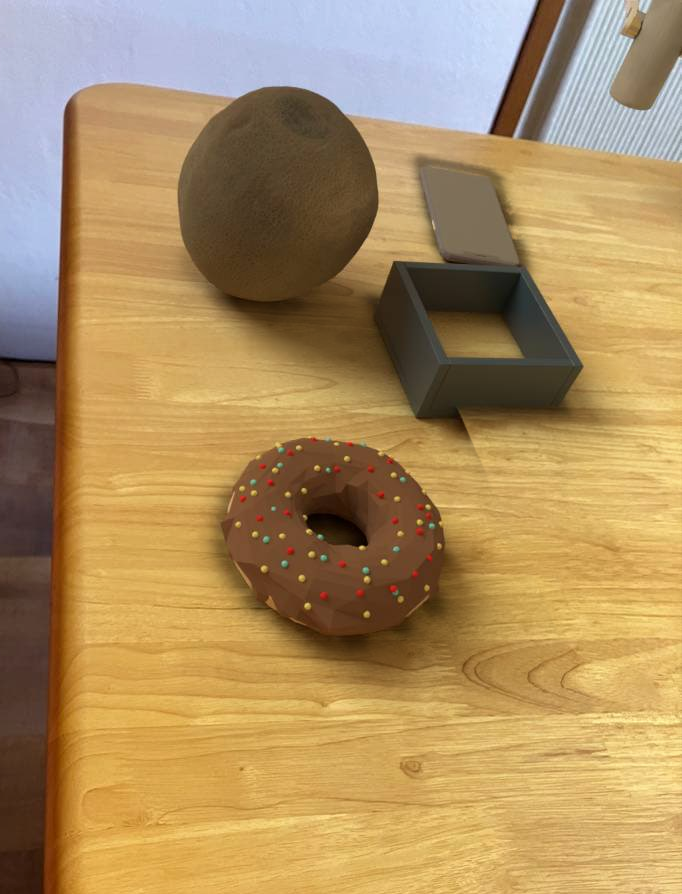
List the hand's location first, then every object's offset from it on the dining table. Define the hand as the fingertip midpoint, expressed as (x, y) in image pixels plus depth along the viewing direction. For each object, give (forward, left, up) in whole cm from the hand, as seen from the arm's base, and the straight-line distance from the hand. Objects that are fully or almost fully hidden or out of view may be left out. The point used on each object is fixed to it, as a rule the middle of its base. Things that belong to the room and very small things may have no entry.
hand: (658, 45), depth 83 cm
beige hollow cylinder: (0, -1, -6) cm, 6 cm away
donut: (+42, +47, -14) cm, 65 cm away
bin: (+26, +29, -14) cm, 41 cm away
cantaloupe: (+41, +20, -14) cm, 48 cm away
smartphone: (+18, +9, -14) cm, 25 cm away
